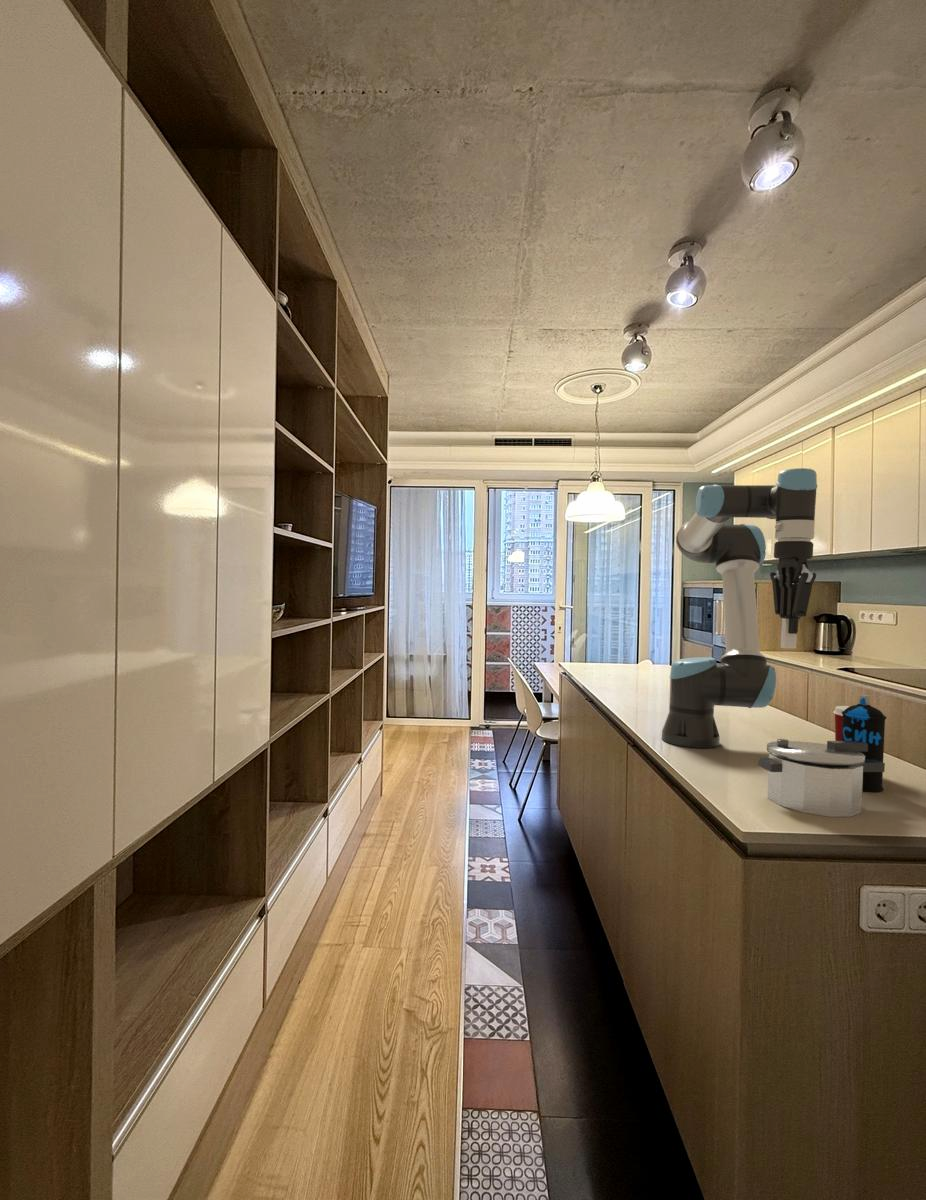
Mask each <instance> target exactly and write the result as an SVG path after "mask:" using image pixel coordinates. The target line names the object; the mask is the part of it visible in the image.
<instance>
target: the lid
mask: <svg viewBox="0 0 926 1200" xmlns="http://www.w3.org/2000/svg"><path fill="white" fill-rule="evenodd" d="M826 742H827V743H826V744H825V743H820V742H819V743H818V742H812V741H811V742H810V741H799V740H798V741H795V740H789V739H785V738H777V739H776V741H770V742H768V743H766V751H767V752H768V754H769V753H771V754H774V755H777V756H780V757H784V758H788V759H792V760H797V761H803V762H810V763H818V764H828V765H858V764H863V763H864V762H865V755H864V754H863V753H861V752H868V743H864V742H861V741H835V740H827V741H826ZM858 751H861V752H858Z"/></svg>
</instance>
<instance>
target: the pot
mask: <svg viewBox="0 0 926 1200" xmlns="http://www.w3.org/2000/svg"><path fill="white" fill-rule="evenodd" d="M885 764H886V763H885V762H884V761H883V762H880V761H878V760H875V759H865V762H864V763H863V764H858V765H828V764H818V763H810V762H803V761H797V760H792V759H788V758H784V757H780V756H777V755H774V754H771V753H769V752H768V757H758V766H759V767H760V768H763V769H764V770H766V771H767V791H766V792H767V799H769V800H770V801H773V802H774V803H776V804H777V805H779V806H780V807H784V808H787V809H791V810H793V811H797V812H800V813H802V814H803V813H804V814H811V815H815V816H816V815H817V816H823V817H830V818H835V817H836V818H841V817H842V818H843V817H844V818H849V817H850V818H852V817H855V816H856V815H859V814H861V813H862V805H863V803H862V802H863V801H862V800H863V791H862V782H863V772H883V773H885V766H886V765H885Z"/></svg>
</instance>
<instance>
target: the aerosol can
mask: <svg viewBox="0 0 926 1200" xmlns="http://www.w3.org/2000/svg"><path fill="white" fill-rule="evenodd" d="M870 701H871V696H870V695H868V694H859V695H858V703H857V704H855V705H854V704H853V705H850V707H848V708H846V709H845V711H842V714H843V725H842V741H861V742H864V743H868V752H861V751H858V752H861V753H863V754H864V755H865V759H875V760H878V761H880V762H883V763H884V756H885V755H884V751H885V749H884V748H885V731H886V729H885V728H886V720H887V716H886V715H884V713H883V712H882V711H881V710H880V709H878V708H877V707H875V706H874V707H873V706H872V705H871V703H870ZM883 773H884V772H863V782H862V792H867V793H881V792H883V791H884V787H883V776H884V775H883Z"/></svg>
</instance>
